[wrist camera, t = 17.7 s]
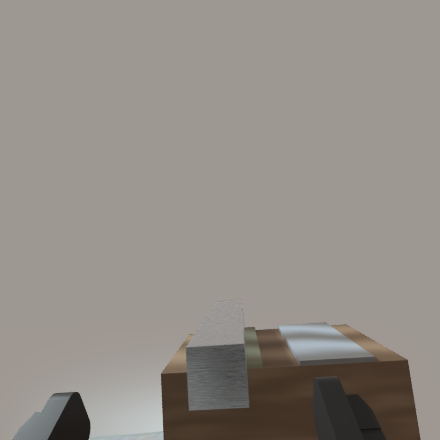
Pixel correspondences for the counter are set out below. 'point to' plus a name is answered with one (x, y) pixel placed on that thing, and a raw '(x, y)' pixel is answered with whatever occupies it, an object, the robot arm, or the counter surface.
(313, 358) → the stand
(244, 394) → the bar
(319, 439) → the robot arm
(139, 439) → the counter surface
